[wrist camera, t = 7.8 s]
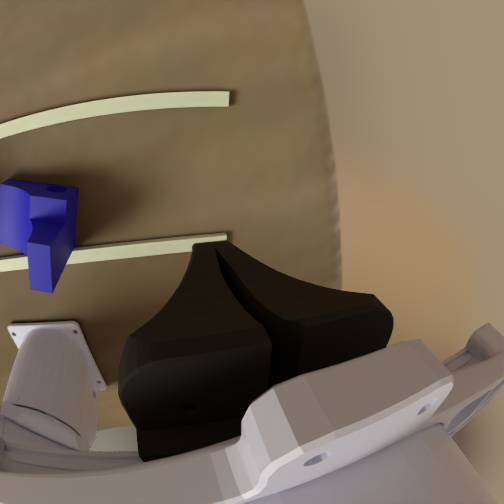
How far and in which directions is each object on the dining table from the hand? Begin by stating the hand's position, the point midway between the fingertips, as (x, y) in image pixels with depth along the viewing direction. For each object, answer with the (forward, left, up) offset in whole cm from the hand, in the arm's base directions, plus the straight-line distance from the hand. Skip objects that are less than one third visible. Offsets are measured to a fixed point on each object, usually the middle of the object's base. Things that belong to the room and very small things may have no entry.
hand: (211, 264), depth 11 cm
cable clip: (+1, +14, -10) cm, 17 cm away
